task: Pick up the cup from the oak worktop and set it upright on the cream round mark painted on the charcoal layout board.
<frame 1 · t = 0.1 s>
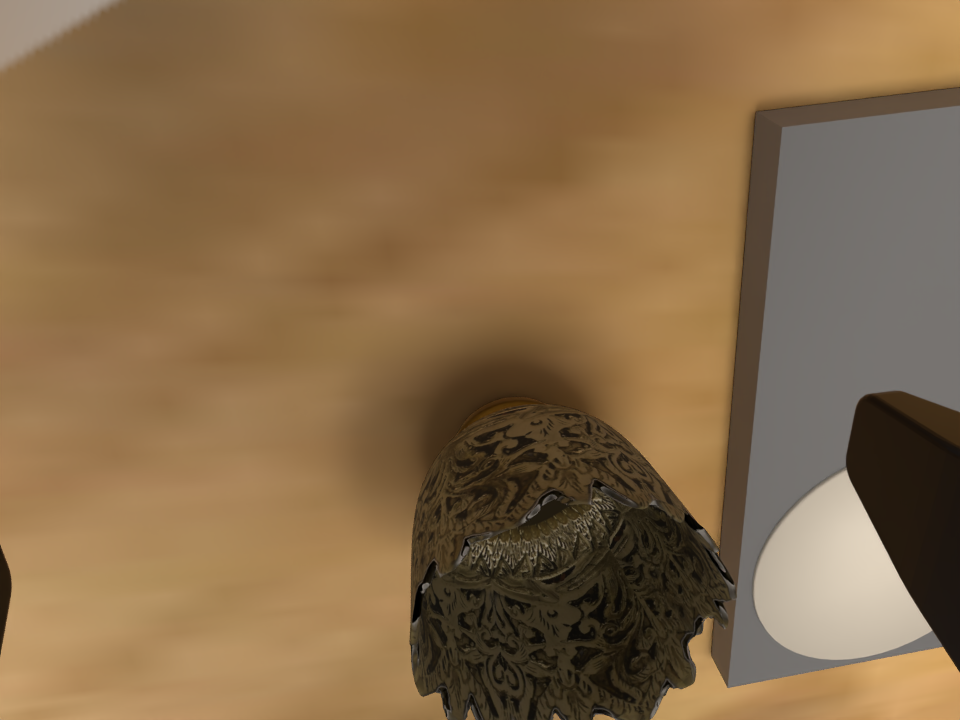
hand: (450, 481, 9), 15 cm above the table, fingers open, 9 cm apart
cup: (506, 435, 27), on the table
layout board: (879, 407, 29), on the table
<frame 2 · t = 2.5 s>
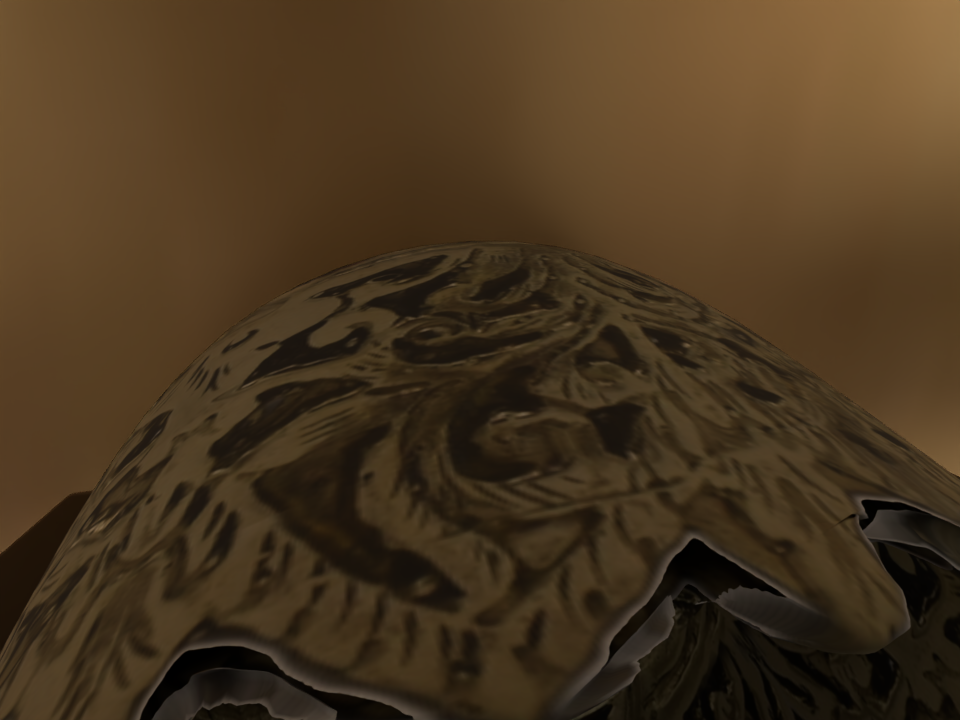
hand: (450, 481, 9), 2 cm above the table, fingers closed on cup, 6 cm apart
cup: (425, 373, 11), on the table, touching gripper
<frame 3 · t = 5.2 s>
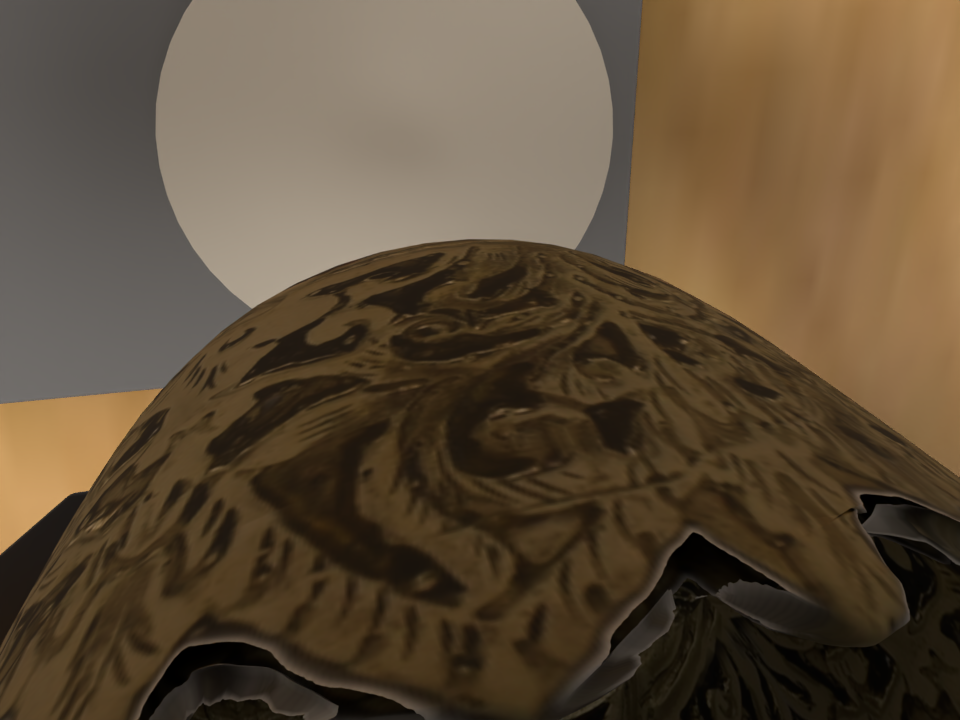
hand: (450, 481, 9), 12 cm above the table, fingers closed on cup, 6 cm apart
cup: (421, 372, 11), point 10 cm above the table, touching gripper
layout board: (145, 142, 19), on the table
when the fingers open (5 cm above the table, at t = 7.8 s): cup drops 1 cm, resting on layout board.
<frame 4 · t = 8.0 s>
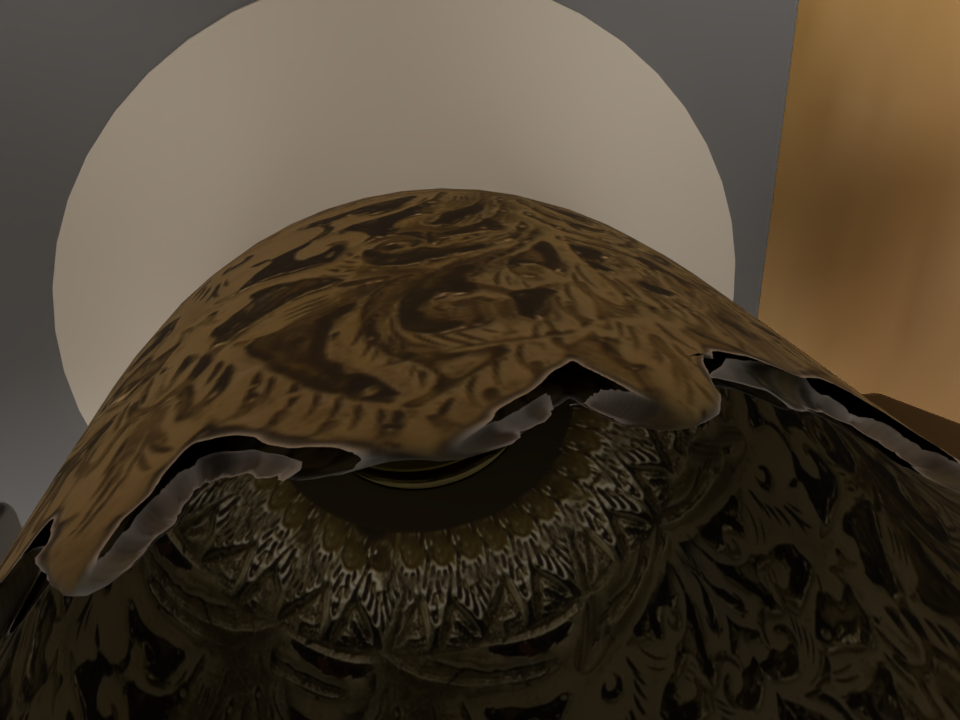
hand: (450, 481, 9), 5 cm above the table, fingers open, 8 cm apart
cup: (408, 327, 12), point 2 cm above the table, touching layout board
layout board: (54, 317, 13), on the table
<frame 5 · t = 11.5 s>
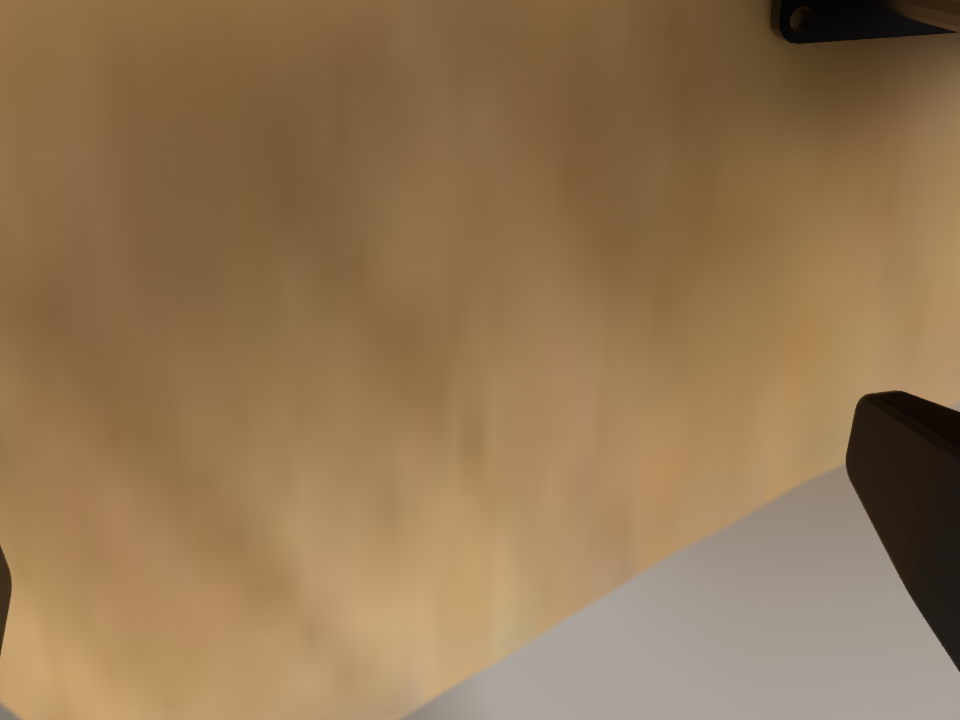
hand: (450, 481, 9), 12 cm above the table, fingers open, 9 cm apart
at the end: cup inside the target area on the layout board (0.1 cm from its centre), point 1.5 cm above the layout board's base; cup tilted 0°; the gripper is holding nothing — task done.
